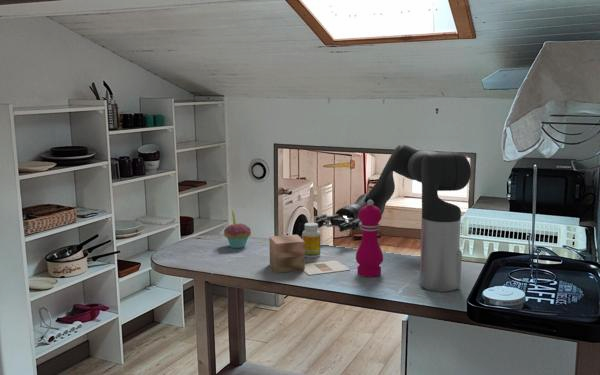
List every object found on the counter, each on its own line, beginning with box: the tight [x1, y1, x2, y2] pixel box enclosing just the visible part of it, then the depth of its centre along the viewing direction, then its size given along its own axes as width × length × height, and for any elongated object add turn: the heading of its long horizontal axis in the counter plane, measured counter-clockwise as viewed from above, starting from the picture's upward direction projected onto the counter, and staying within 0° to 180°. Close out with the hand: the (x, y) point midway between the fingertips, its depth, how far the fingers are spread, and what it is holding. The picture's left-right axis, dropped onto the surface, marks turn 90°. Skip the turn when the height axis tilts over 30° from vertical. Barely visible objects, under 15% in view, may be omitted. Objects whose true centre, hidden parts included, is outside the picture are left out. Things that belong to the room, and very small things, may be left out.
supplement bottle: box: [301, 222, 321, 259], centre depth 164 cm, size 5×5×10 cm
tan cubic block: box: [269, 234, 306, 274], centre depth 154 cm, size 8×8×8 cm
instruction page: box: [302, 260, 351, 276], centre depth 153 cm, size 12×9×1 cm
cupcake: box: [223, 209, 252, 249], centre depth 175 cm, size 9×8×12 cm
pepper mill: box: [355, 200, 384, 278], centre depth 147 cm, size 7×7×20 cm
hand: (328, 226), depth 174 cm, fingers open, 8 cm apart
